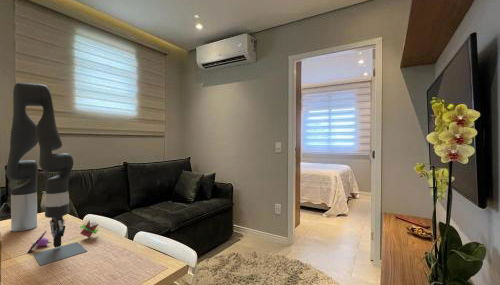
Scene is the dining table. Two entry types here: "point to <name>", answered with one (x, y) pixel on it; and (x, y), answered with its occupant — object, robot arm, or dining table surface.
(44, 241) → the game card
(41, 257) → the mat
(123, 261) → the dining table surface
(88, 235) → the geometric puzzle
